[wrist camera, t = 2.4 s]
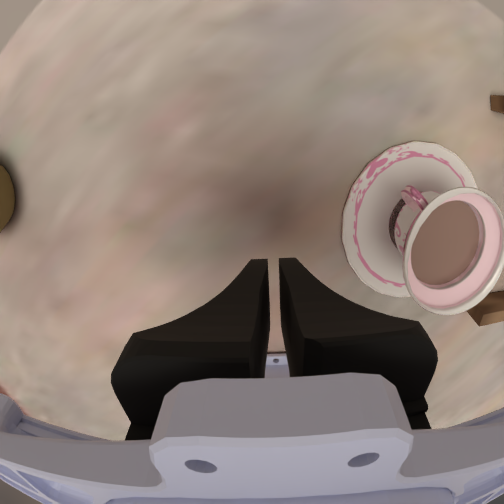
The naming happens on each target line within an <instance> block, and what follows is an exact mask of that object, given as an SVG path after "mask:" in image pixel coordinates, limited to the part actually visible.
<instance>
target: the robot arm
mask: <svg viewBox="0 0 504 504" xmlns="http://www.w3.org/2000/svg"><path fill="white" fill-rule="evenodd" d="M279 280H280V312H281V327H282V333H283V339H284V345H285V350H286V353H283V354H267V350H268V341H269V332H270V302H269V280H268V259H251V260H250V261H249V262H248V264H247V265H246V266H245V267H244V269H243V270H242V271H241V272H240V274H239V275H238V276H237V277H236V278H235V279H234V280H233V281H232V282H231V284H230V285H228V286H227V287H226V288H225V289H224V290H223V291H222V292H221V293H220V294H219V295H217V296H216V297H215V298H213V299H212V300H210V301H209V302H208V303H206V304H205V305H203V306H201V307H199V308H198V309H196V310H194V311H192V312H191V313H189V314H187V315H185V316H183V317H181V318H178V319H176V320H174V321H171V322H169V323H166V324H163V325H160V326H157V327H154V328H150V329H147V330H143V331H140V332H136V333H133V334H132V336H131V337H130V339H129V341H128V342H127V344H126V345H125V347H124V349H123V351H122V353H121V355H120V357H119V359H118V361H117V363H116V365H115V367H114V369H113V371H112V373H111V384H112V387H113V390H114V392H115V394H116V396H117V398H118V400H119V402H120V404H121V405H122V407H123V409H124V411H125V413H126V414H127V416H128V418H129V420H130V421H131V425H130V427H129V430H128V433H127V435H126V438H125V441H111V440H106V439H102V438H98V437H94V436H90V435H86V434H82V433H78V432H75V431H71V430H68V429H65V428H61V427H58V426H55V425H52V424H49V423H46V422H43V421H40V420H37V419H34V418H32V417H29V416H26V415H24V414H23V412H22V410H21V409H20V407H19V406H18V405H17V404H16V402H15V401H14V400H12V399H11V398H10V397H8V396H6V395H4V394H1V393H0V479H1V480H3V481H4V482H6V483H8V484H9V485H11V486H13V487H15V488H16V489H18V490H19V491H21V492H23V493H25V494H26V495H28V496H30V497H32V498H34V499H35V500H38V501H39V502H41V503H43V504H486V503H488V502H490V501H491V500H493V499H495V498H497V497H498V496H500V495H502V494H503V493H504V407H503V408H501V409H499V410H496V411H494V412H491V413H489V414H486V415H484V416H481V417H478V418H475V419H473V420H470V421H467V422H464V423H461V424H458V425H455V426H452V427H449V428H443V429H431V427H430V424H429V422H428V419H427V417H426V414H425V412H427V410H428V404H427V402H426V400H425V397H424V395H425V393H426V391H427V388H428V386H429V384H430V382H431V379H432V377H433V375H434V372H435V369H436V366H437V362H438V357H437V350H436V348H435V347H434V345H433V343H432V341H431V339H430V338H429V336H428V334H427V333H426V331H425V330H424V328H423V327H422V325H421V324H420V323H419V321H414V320H408V319H403V318H398V317H393V316H389V315H386V314H383V313H379V312H376V311H373V310H370V309H368V308H365V307H363V306H361V305H358V304H356V303H354V302H352V301H350V300H348V299H346V298H344V297H342V296H341V295H339V294H337V293H336V292H334V291H332V290H331V289H329V288H328V287H327V286H325V285H324V284H323V283H321V282H320V281H319V280H318V279H317V278H315V277H314V276H313V275H312V274H311V273H310V272H309V271H308V270H307V269H306V268H305V267H304V266H303V265H302V264H301V263H300V262H299V261H298V260H297V259H296V258H279ZM274 359H278V360H274Z"/></svg>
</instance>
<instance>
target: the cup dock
mask: <svg viewBox="0 0 504 504" xmlns="http://www.w3.org/2000/svg"><path fill="white" fill-rule="evenodd" d="M490 96H491V110H492V111H496V112H500V113H503V114H504V96H498V95H490ZM466 311H467V312H468V313H469V315H470V316H471V317H472V318H473V319H474V321H475V322H476V323H477V324H478V326H483V325H488V324H492V323H497V322H501V321H504V291H498V292H492V293H488V295H487V296H486V297H485V298H484V299H483V300H482V301H480V302H479V303H478V304H477V305H475V306H474V307H472V308H470V309H469V310H466Z"/></svg>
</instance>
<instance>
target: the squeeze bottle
mask: <svg viewBox="0 0 504 504" xmlns="http://www.w3.org/2000/svg"><path fill="white" fill-rule="evenodd" d="M14 204H15V196H14V187H13V184H12V181H11V178H10V175H9V174H8V173H7V171H6V170H5V168H4V167H3V166H1V165H0V232H1V231H2V229H3V228H4V227H5V225H6V224H7V223H8V221H9V220H10V218H11V216H12V214H13V212H14Z"/></svg>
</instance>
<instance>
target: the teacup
mask: <svg viewBox="0 0 504 504" xmlns="http://www.w3.org/2000/svg"><path fill="white" fill-rule="evenodd" d="M420 192H421V193H420ZM402 198H403V200H404V202H405V203H406V204H405V205H404V206H403V207H402V209H401V211H400V213H399V215H398V217H397V220H396V223H395V230H394V237H395V242H396V246H397V247H396V246H395V245H394V243H393V242H392V240H391V238H390V233H389V221H390V217H391V214H392V211H393V209H394V208H395V206H396V205H397V203H398V202H399V201H400V200H401V199H402ZM342 242H343V245H344V249H345V253H346V256H347V260H348V263H349V264H350V266H351V267H352V268H353V270H354V271H355V273H356V274H357V276H358V277H359V279H360V280H361V281H362V282H363V283H365V284H366V285H368V286H369V287H370V288H372V289H373V290H375V291H376V292H378V293H381V294H385V295H389V296H393V297H397V298H400V297H412V298H413V300H414V301H415V302H416V303H417V304H418V305H420V306H421V307H422V308H423V309H425V310H427V311H429V312H431V313H434V314H438V315H454V314H458V313H462V312H464V311H466V310H469V309H470V308H472V307H474V306H475V305H477V304H478V303H479V302H480V301H482V300H483V299H484V298H485V297H486V296H487V295H488V293H489V292H490V291H491V290H492V288H493V287H494V285H495V284H496V282H497V280H498V278H499V276H500V274H501V272H502V269H503V266H504V217H503V214H502V212H501V210H500V208H499V206H498V205H497V203H496V202H495V201H494V200H493V199H492V198H491V197H490V196H489V195H488V194H486V193H485V192H483V191H481V190H479V189H478V187H477V185H476V182H475V180H474V177H473V175H472V173H471V171H470V169H469V168H468V167H467V166H466V165H465V163H464V162H463V161H462V160H461V159H460V158H459V156H458V155H457V154H455V153H453V152H452V151H450V150H448V149H446V148H444V147H442V146H441V145H439V144H436V143H428V142H418V141H411V142H408V143H404V144H401V145H397V146H394V147H390V148H388V149H387V150H386V151H384V152H383V153H382V154H380V155H379V156H377V157H376V158H375V159H373V160H372V161H371V162H369V163H368V164H367V166H366V167H365V168H364V170H363V171H362V173H361V174H360V175H359V177H358V178H357V179H356V181H355V182H354V184H353V185H352V187H351V190H350V193H349V196H348V198H347V201H346V204H345V207H344V210H343V218H342Z"/></svg>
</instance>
